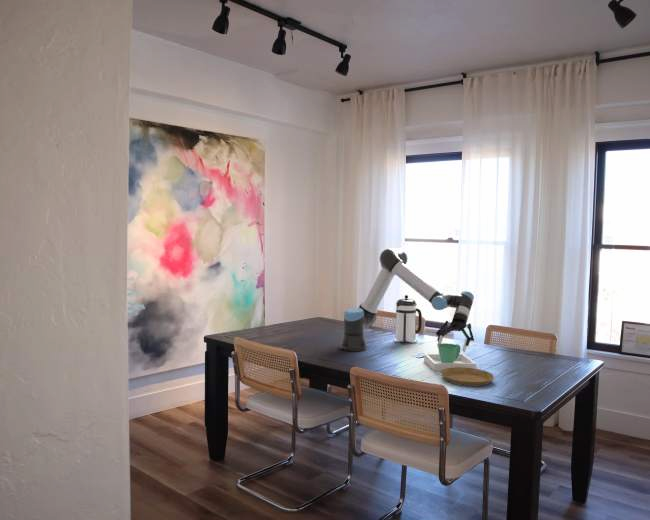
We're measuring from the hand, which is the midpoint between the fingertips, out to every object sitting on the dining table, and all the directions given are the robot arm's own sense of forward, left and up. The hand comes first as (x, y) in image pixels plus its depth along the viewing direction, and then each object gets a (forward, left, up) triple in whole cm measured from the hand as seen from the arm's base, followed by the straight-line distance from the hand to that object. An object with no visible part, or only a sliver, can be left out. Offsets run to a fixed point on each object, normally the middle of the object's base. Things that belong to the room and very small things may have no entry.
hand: (450, 348), depth 275 cm
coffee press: (-11, +60, -9) cm, 61 cm away
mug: (0, 0, -8) cm, 8 cm away
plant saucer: (0, -26, -10) cm, 28 cm away
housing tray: (-1, 0, -9) cm, 9 cm away
